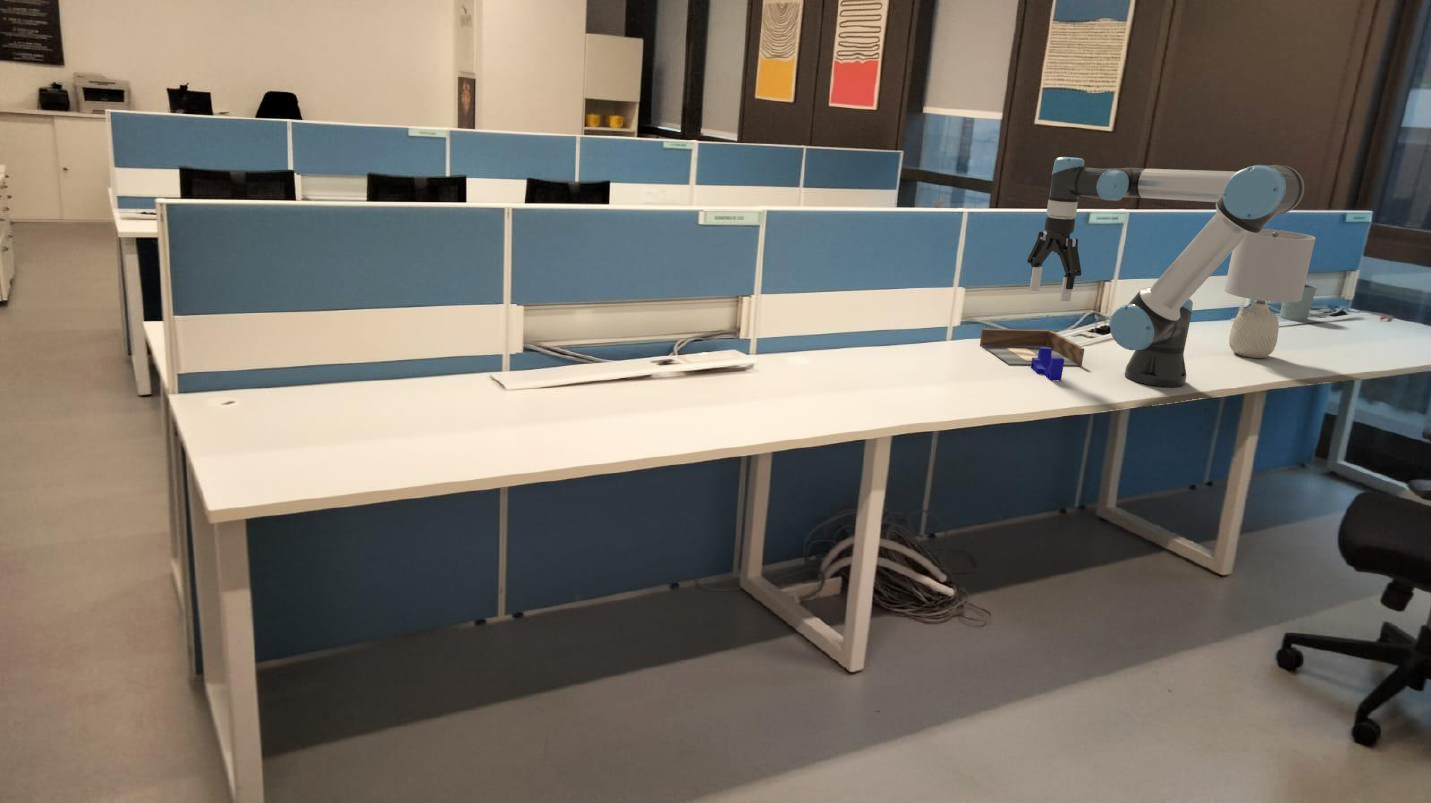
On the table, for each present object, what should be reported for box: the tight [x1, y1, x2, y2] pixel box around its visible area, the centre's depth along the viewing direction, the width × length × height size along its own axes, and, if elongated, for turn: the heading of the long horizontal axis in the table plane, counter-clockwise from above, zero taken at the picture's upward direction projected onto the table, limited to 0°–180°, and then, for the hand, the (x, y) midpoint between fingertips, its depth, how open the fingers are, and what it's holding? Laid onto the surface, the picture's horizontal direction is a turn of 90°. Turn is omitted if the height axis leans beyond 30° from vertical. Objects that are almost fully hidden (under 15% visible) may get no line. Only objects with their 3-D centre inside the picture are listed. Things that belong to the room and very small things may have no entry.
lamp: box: [1224, 228, 1316, 359], centre depth 305 cm, size 20×20×37 cm
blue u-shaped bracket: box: [1030, 347, 1064, 382], centre depth 277 cm, size 12×4×6 cm, turn 0°
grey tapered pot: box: [1279, 283, 1318, 322], centre depth 365 cm, size 10×10×12 cm
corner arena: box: [979, 328, 1085, 367], centre depth 296 cm, size 21×21×5 cm
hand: (1049, 295), depth 283 cm, fingers open, 13 cm apart
